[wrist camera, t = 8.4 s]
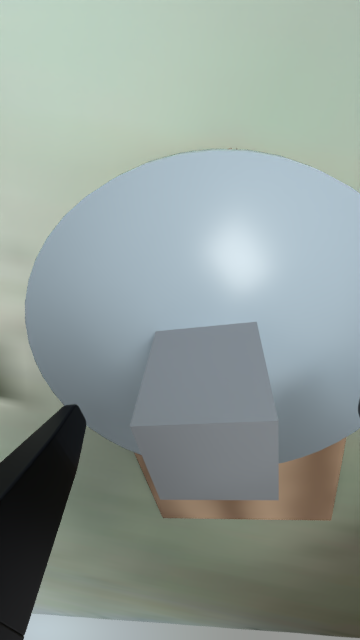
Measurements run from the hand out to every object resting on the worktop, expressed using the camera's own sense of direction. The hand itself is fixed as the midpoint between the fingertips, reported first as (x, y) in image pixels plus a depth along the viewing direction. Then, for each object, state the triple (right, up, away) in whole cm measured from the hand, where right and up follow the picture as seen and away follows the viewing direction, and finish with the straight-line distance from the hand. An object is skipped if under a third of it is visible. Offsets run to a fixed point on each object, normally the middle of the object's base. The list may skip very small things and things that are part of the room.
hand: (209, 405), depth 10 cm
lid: (0, +2, +3) cm, 3 cm away
